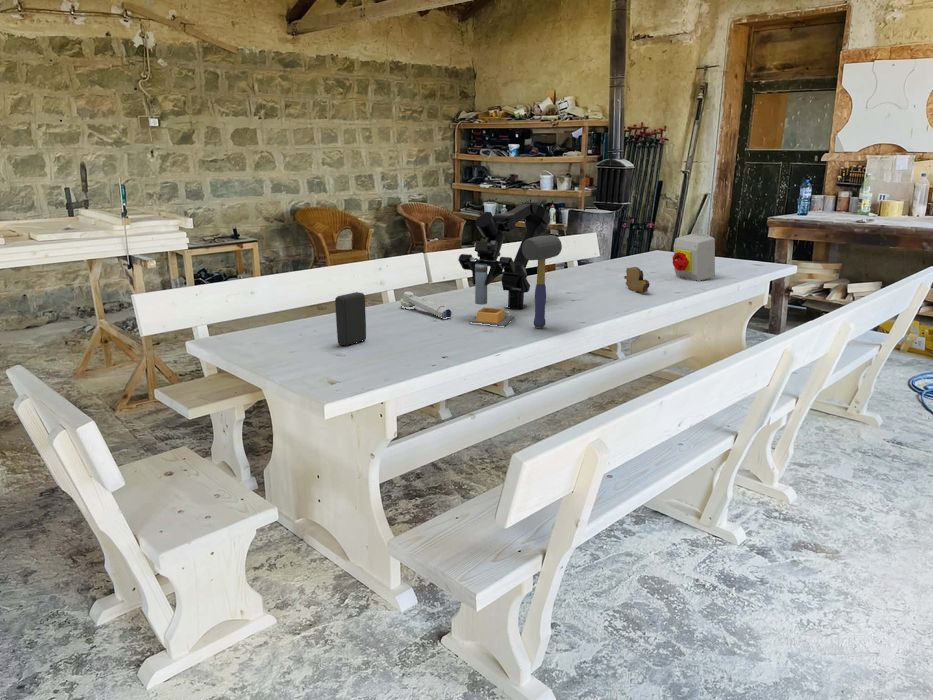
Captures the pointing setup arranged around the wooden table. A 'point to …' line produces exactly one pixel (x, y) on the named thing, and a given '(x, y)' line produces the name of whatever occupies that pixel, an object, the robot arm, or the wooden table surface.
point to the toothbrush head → (424, 305)
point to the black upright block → (350, 318)
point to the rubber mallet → (541, 269)
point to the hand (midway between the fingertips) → (479, 284)
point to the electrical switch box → (694, 256)
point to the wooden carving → (636, 280)
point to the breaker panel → (493, 317)
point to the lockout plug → (480, 283)
